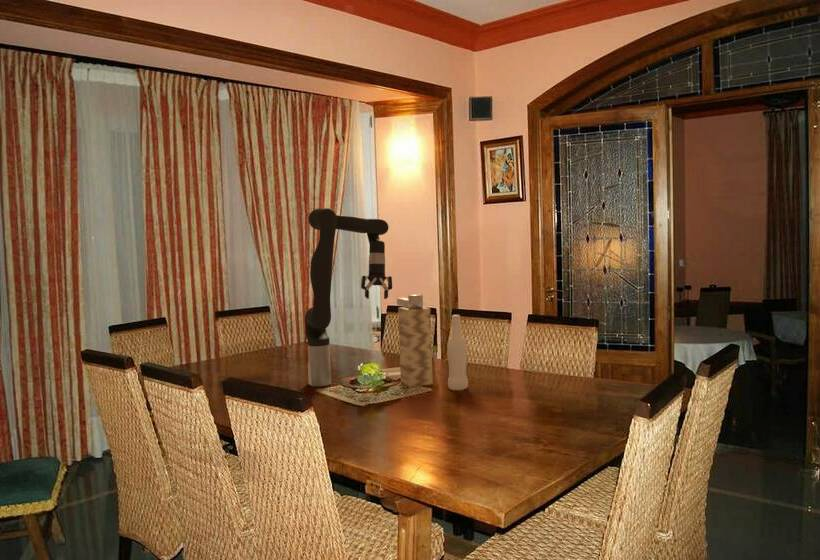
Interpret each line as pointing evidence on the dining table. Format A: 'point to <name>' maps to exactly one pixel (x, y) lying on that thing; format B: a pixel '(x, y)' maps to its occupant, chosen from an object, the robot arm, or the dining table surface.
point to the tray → (393, 372)
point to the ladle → (411, 302)
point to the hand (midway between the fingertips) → (376, 298)
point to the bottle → (457, 357)
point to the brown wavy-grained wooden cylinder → (415, 346)
